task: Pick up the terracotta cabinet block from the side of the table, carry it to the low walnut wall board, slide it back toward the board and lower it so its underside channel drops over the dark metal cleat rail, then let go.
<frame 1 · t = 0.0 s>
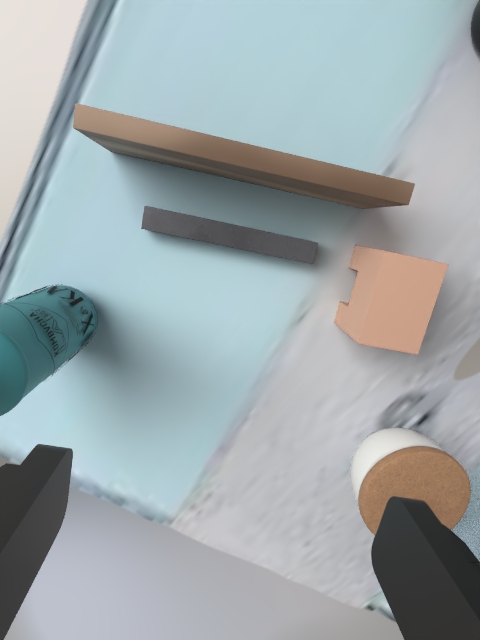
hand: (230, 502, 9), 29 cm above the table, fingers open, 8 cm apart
lidded jar: (382, 452, 44), on the table
beverage bottle: (71, 311, 38), on the table
cleat rail: (230, 235, 36), on the table
cabinet block: (370, 290, 39), on the table
wall board: (242, 172, 35), on the table
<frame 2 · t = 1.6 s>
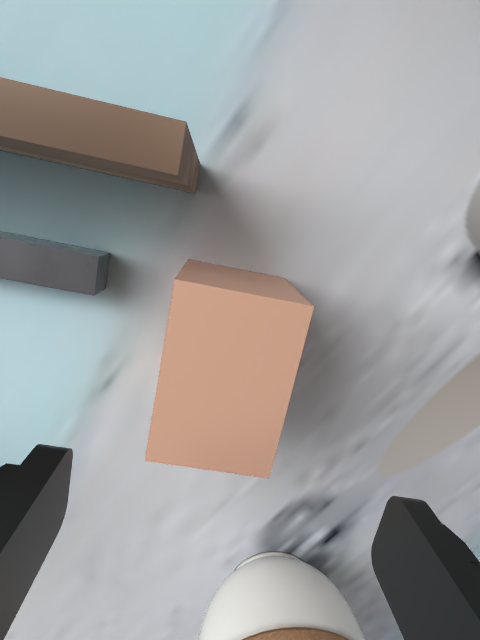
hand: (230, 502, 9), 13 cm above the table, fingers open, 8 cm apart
lidded jar: (270, 582, 28), on the table
cabinet block: (223, 335, 22), on the table
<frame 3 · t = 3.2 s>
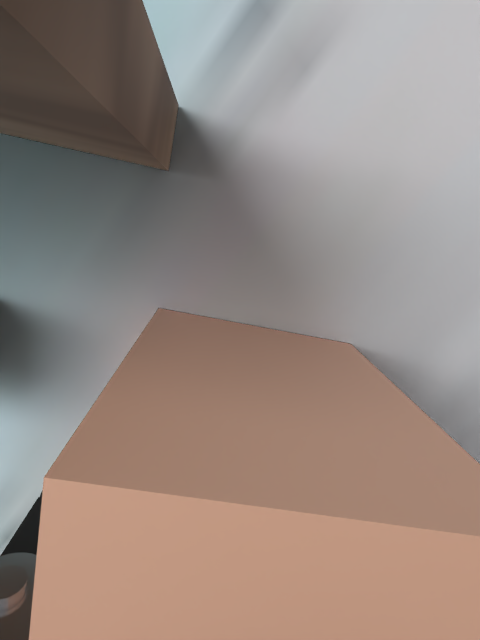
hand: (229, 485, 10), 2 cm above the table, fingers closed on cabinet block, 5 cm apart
cabinet block: (229, 450, 12), on the table, touching gripper
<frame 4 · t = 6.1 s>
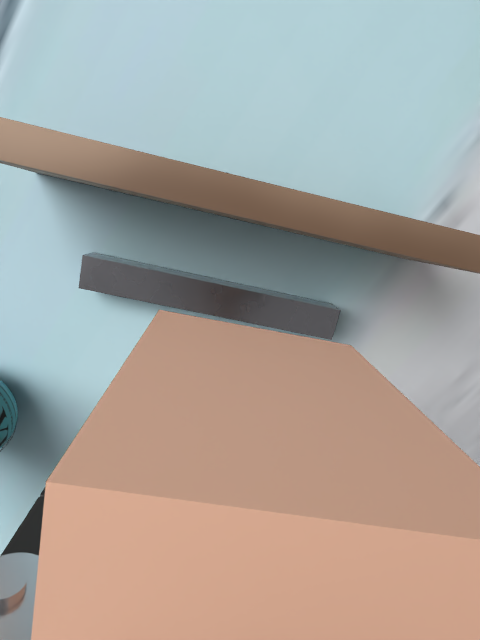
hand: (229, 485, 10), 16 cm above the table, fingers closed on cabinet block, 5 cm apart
cleat rail: (213, 293, 25), on the table
cabinet block: (229, 452, 12), point 15 cm above the table, touching gripper
wall board: (232, 205, 24), on the table
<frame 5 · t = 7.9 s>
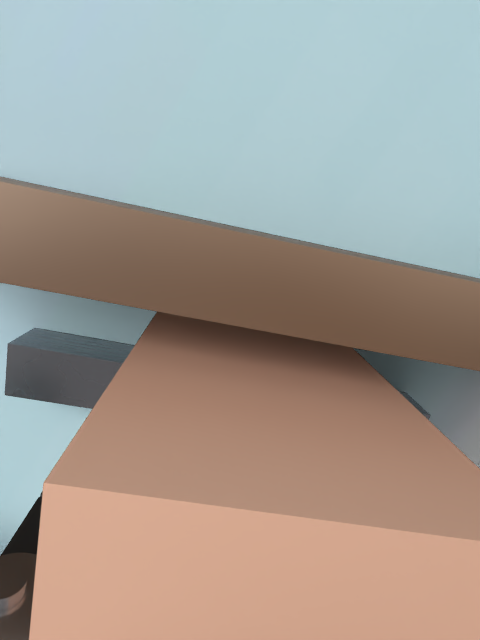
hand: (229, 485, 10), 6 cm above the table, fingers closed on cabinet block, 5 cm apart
cleat rail: (225, 383, 16), on the table
cabinet block: (228, 452, 12), point 5 cm above the table, touching gripper
wall board: (253, 250, 15), on the table
when the fingers open (2 cm above the table, at t = 9.2 s): cabinet block stays where it is, on the table.
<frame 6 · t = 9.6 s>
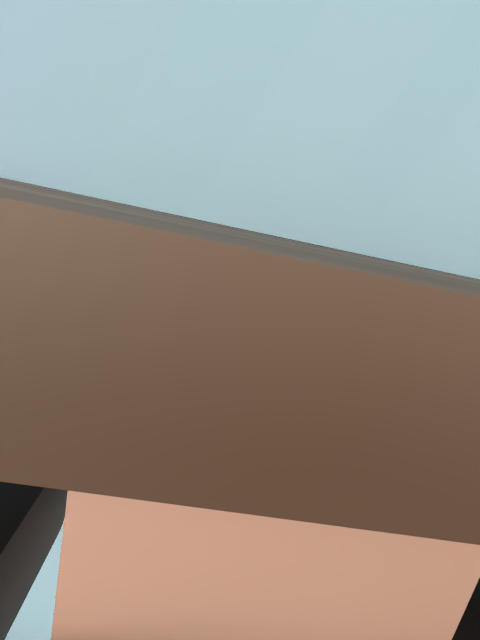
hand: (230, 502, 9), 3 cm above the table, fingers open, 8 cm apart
cabinet block: (228, 436, 12), on the table
wall board: (266, 261, 11), on the table
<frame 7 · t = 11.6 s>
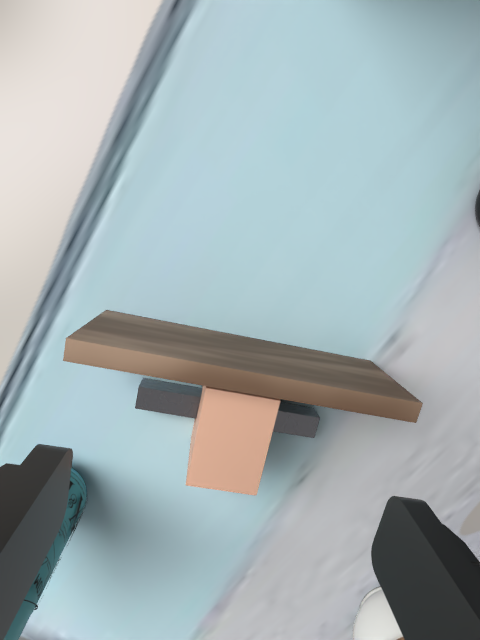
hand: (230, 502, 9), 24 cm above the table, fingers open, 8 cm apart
lidded jar: (385, 605, 42), on the table
beverage bottle: (60, 478, 36), on the table
cleat rail: (228, 403, 35), on the table
cabinet block: (228, 402, 35), on the table
wall board: (241, 344, 34), on the table
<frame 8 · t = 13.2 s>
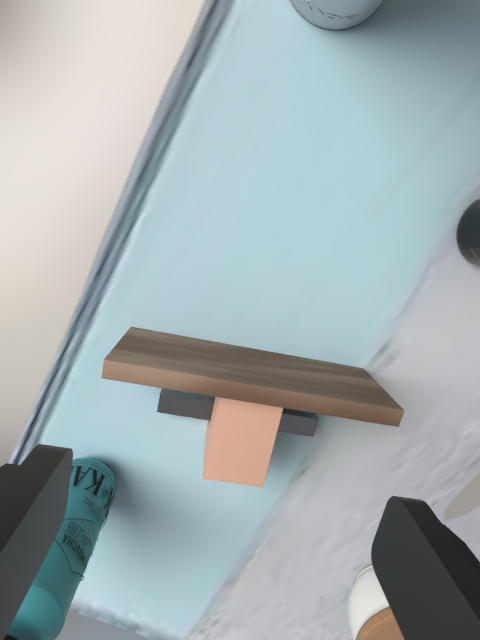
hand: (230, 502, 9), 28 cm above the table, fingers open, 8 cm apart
lidded jar: (377, 580, 47), on the table
beverage bottle: (91, 471, 41), on the table
cleat rail: (237, 406, 40), on the table
cabinet block: (238, 405, 40), on the table
wall board: (249, 355, 38), on the table
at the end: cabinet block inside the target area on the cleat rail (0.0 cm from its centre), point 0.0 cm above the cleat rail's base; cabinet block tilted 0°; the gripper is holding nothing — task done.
